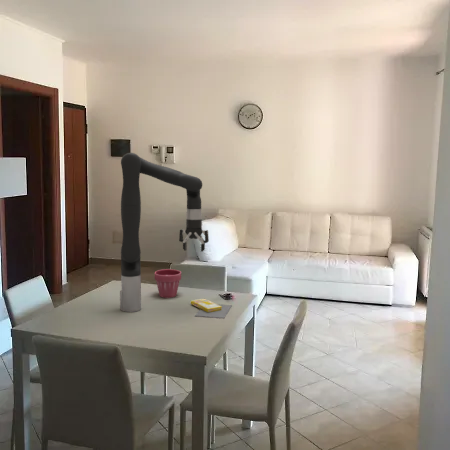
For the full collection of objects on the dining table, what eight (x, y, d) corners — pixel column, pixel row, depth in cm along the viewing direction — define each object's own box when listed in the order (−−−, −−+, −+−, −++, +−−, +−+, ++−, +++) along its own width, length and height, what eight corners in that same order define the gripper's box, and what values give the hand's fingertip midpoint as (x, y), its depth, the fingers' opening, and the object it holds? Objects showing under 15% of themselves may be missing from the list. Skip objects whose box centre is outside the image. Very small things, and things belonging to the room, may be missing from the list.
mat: (194, 316, 236) (194, 315, 236) (204, 303, 256) (204, 303, 256) (224, 318, 234) (224, 317, 233) (231, 305, 253) (231, 305, 253)
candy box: (207, 313, 240) (221, 310, 245) (207, 308, 240) (221, 305, 244) (190, 304, 253) (204, 301, 258) (190, 300, 253) (204, 297, 258)
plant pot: (175, 300, 261) (175, 276, 259) (150, 297, 265) (150, 274, 263) (185, 293, 274) (185, 270, 273) (161, 290, 278) (161, 268, 276)
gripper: (177, 218, 243) (177, 251, 245) (206, 219, 240) (206, 253, 243) (182, 216, 250) (181, 248, 252) (210, 217, 247) (209, 250, 250)
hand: (193, 250), depth 247 cm, fingers open, 8 cm apart
